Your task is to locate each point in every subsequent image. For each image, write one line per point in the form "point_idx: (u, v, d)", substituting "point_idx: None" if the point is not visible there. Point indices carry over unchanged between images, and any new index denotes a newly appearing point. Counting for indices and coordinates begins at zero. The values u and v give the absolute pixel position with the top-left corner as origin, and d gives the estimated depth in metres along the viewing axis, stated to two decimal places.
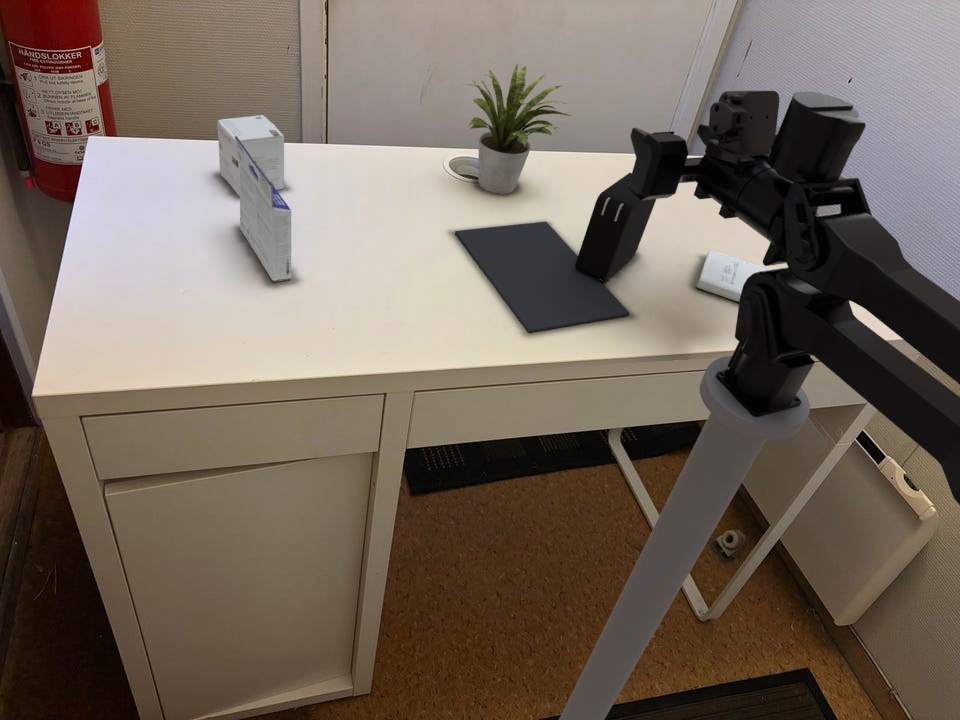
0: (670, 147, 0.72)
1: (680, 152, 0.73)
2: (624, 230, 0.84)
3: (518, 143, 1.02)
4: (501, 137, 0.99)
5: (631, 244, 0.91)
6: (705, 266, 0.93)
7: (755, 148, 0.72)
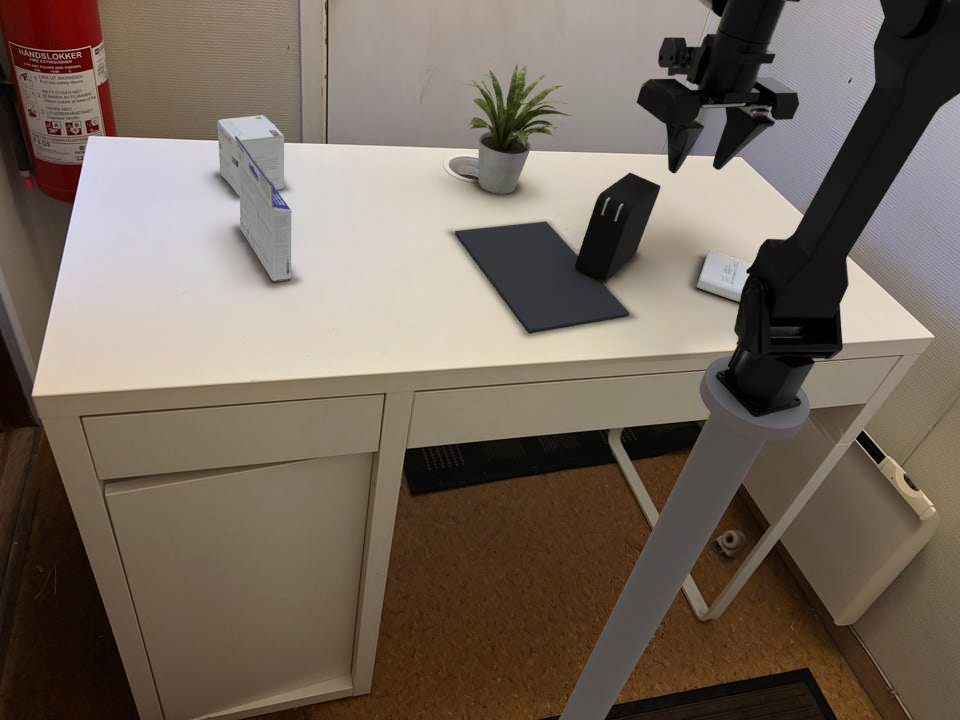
0: None
1: None
2: (624, 230, 0.84)
3: (518, 143, 1.02)
4: (501, 137, 0.99)
5: (631, 244, 0.91)
6: (705, 266, 0.93)
7: None
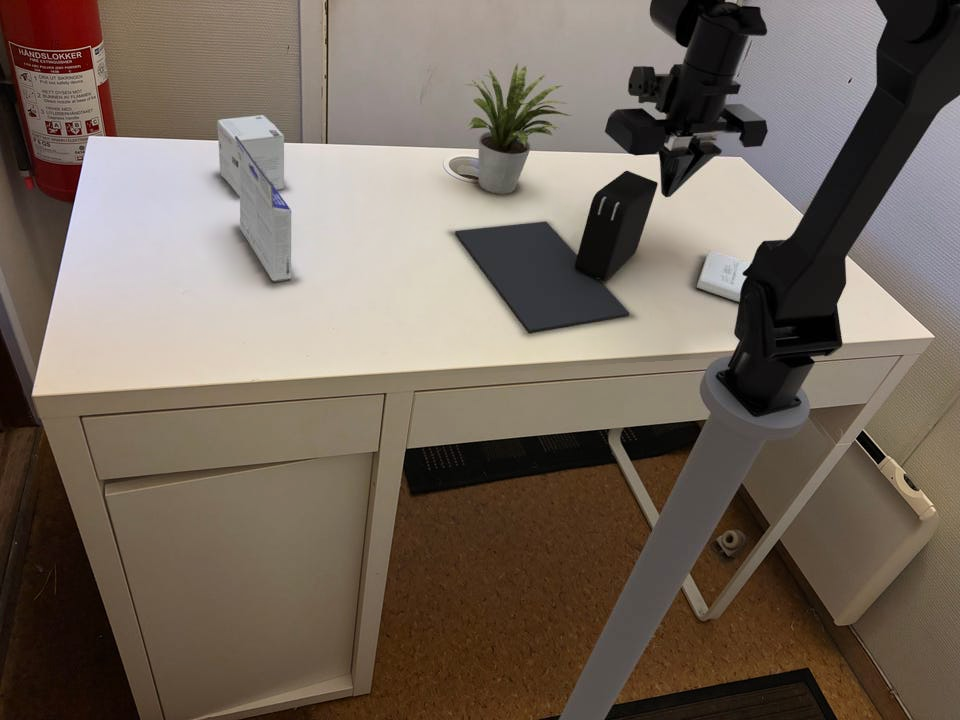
0: None
1: (634, 109, 0.82)
2: (621, 229, 0.84)
3: (518, 143, 1.02)
4: (501, 137, 0.99)
5: (630, 242, 0.91)
6: (705, 266, 0.93)
7: None
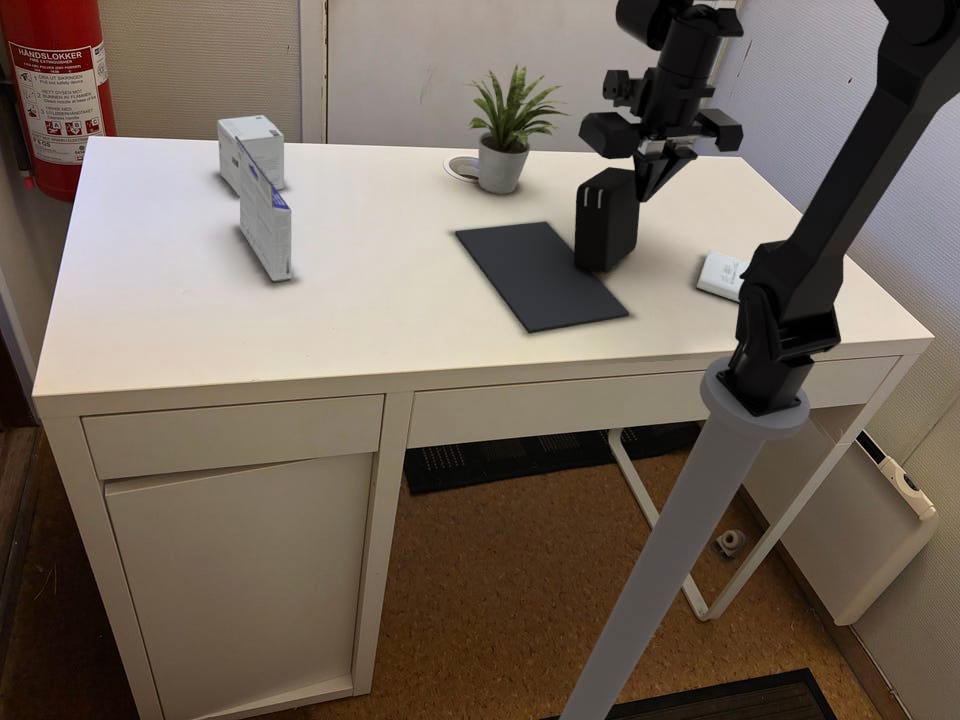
0: None
1: None
2: (610, 215, 0.85)
3: (518, 143, 1.02)
4: (501, 137, 0.99)
5: (626, 233, 0.90)
6: (705, 266, 0.93)
7: None
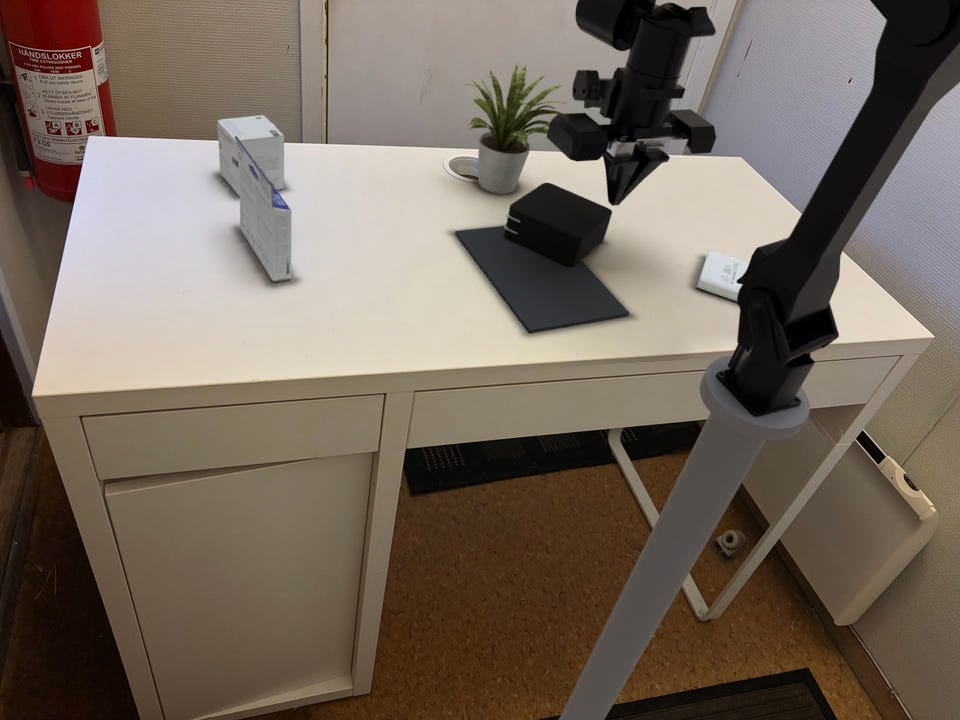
0: None
1: None
2: (529, 213, 0.90)
3: (518, 143, 1.02)
4: (501, 137, 0.99)
5: (578, 211, 0.92)
6: (705, 266, 0.93)
7: None
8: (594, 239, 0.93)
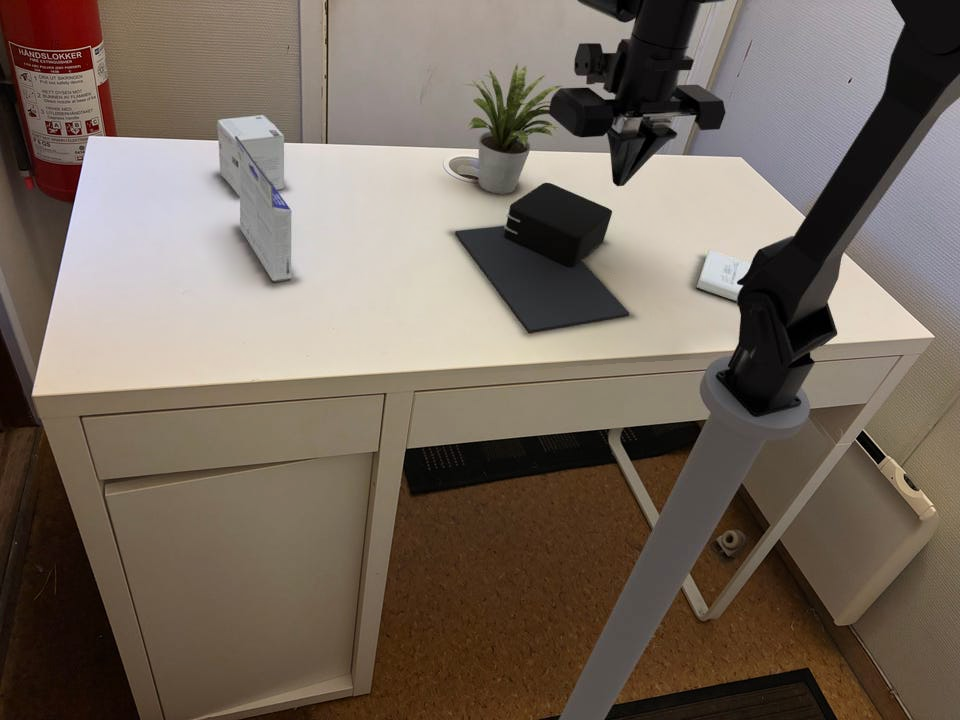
0: None
1: None
2: (529, 213, 0.90)
3: (518, 143, 1.02)
4: (501, 137, 0.99)
5: (578, 211, 0.92)
6: (705, 266, 0.93)
7: None
8: (594, 239, 0.93)
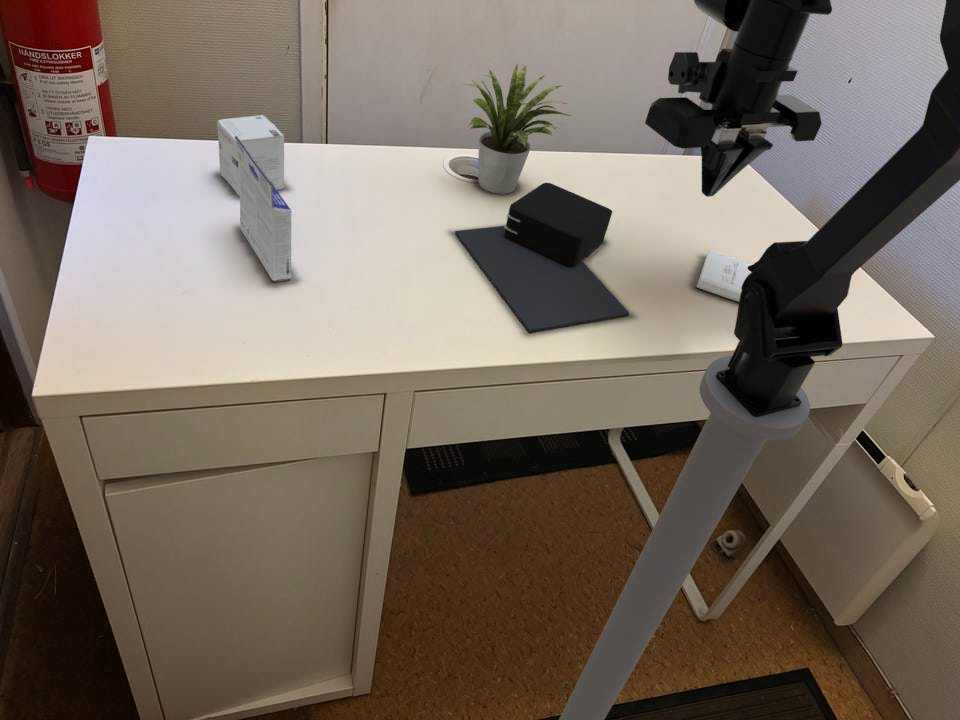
0: None
1: None
2: (529, 213, 0.90)
3: (518, 143, 1.02)
4: (501, 137, 0.99)
5: (578, 211, 0.92)
6: (705, 266, 0.93)
7: None
8: (594, 239, 0.93)
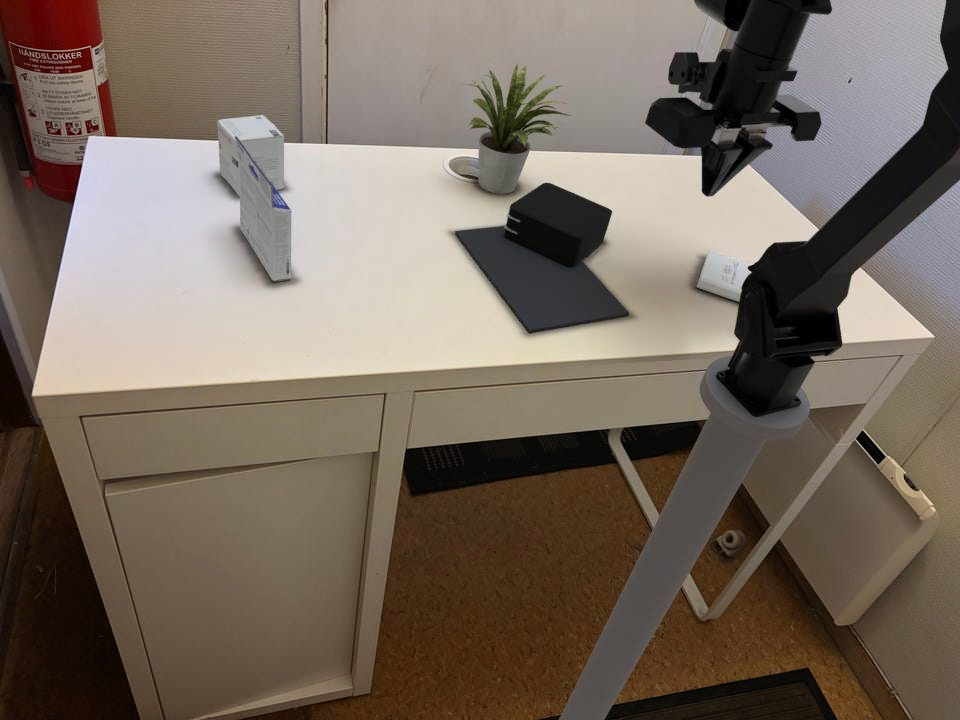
0: None
1: None
2: (529, 213, 0.90)
3: (518, 143, 1.02)
4: (501, 137, 0.99)
5: (578, 211, 0.92)
6: (705, 266, 0.93)
7: None
8: (594, 239, 0.93)
